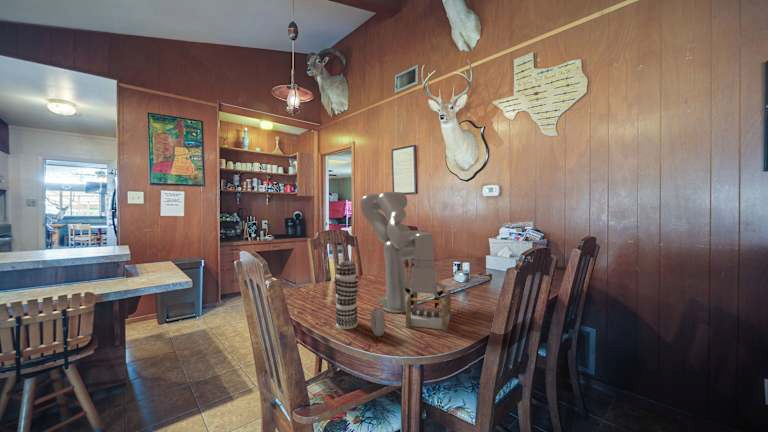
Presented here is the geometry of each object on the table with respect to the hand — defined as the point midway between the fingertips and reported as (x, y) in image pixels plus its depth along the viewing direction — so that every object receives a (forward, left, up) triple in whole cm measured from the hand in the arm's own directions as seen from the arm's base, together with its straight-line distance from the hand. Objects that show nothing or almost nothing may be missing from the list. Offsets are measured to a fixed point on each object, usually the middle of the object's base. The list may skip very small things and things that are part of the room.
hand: (424, 305), depth 123 cm
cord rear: (+2, +6, +4) cm, 8 cm away
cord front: (+2, -6, +4) cm, 8 cm away
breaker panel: (+2, 0, -7) cm, 7 cm away
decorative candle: (-29, -11, -7) cm, 32 cm away
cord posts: (+2, 0, -7) cm, 7 cm away
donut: (-14, -17, -7) cm, 23 cm away
